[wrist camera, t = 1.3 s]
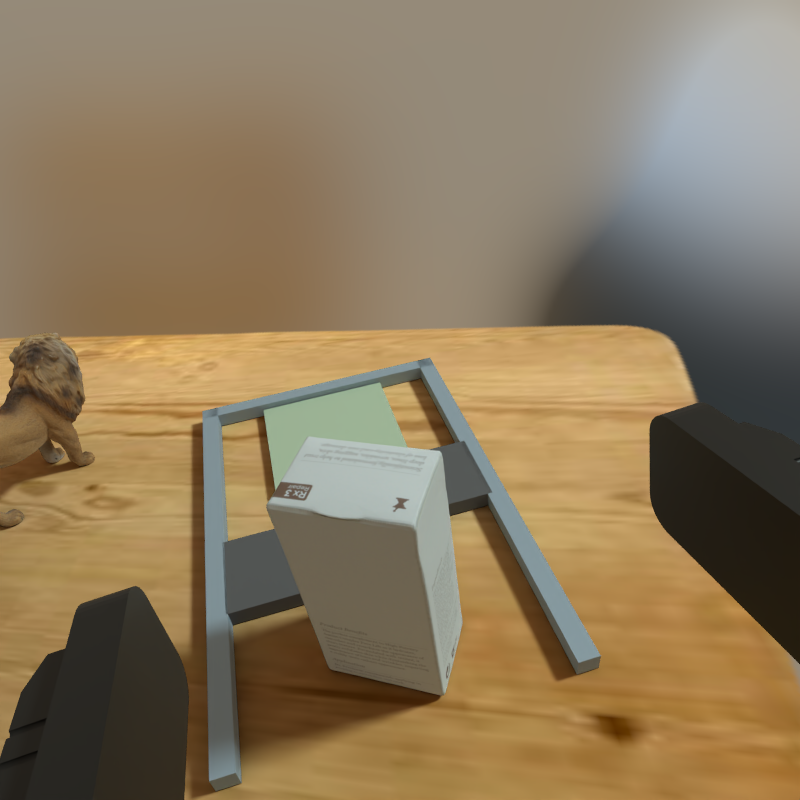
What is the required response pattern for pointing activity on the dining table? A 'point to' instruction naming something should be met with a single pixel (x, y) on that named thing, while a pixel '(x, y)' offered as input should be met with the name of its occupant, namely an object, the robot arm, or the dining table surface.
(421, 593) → the skincare box
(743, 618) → the dining table surface
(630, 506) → the dining table surface
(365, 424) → the pad
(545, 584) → the lane rails
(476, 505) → the grey slab
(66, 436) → the lion figurine
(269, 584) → the grey square block
